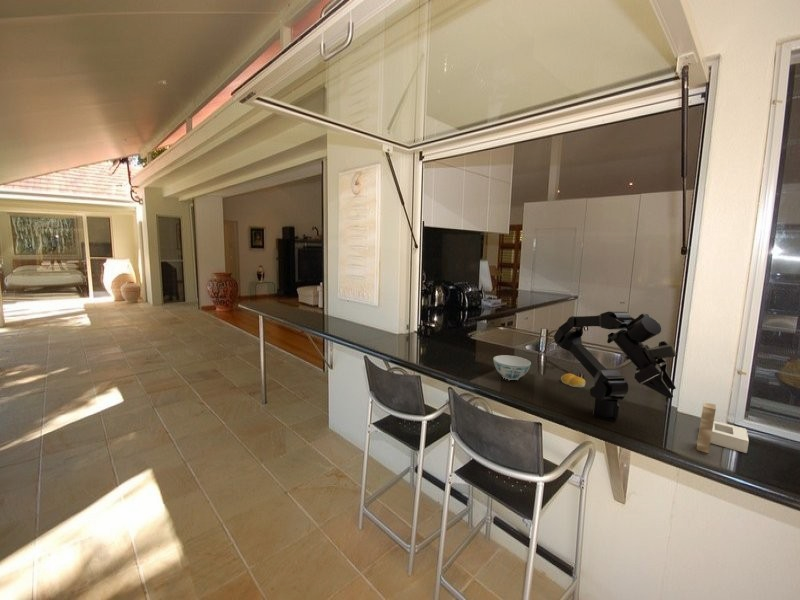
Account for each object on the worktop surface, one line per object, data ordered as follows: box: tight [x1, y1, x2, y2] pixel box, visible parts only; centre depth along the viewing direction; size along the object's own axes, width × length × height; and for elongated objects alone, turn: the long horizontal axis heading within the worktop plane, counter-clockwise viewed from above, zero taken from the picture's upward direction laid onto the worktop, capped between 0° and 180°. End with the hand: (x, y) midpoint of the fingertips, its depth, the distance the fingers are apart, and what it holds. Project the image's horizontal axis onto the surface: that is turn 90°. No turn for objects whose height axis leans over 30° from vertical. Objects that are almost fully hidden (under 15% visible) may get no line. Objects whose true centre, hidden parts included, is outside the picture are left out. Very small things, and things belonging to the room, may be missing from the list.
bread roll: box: [560, 373, 586, 388], centre depth 147 cm, size 8×9×4 cm
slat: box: [696, 401, 717, 454], centre depth 98 cm, size 2×4×12 cm, turn 139°
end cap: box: [710, 420, 750, 454], centre depth 104 cm, size 10×10×4 cm
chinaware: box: [493, 354, 532, 381], centre depth 150 cm, size 15×15×8 cm
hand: (672, 393), depth 102 cm, fingers open, 9 cm apart
